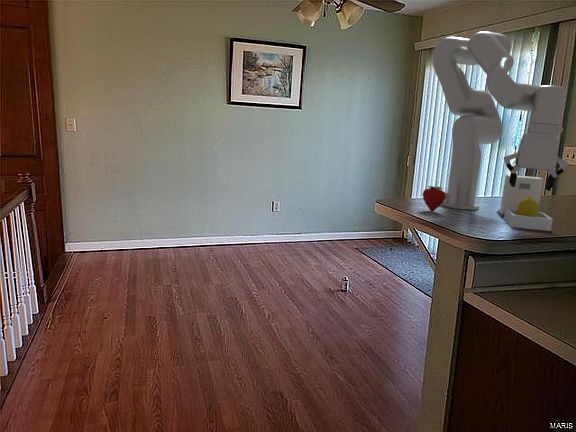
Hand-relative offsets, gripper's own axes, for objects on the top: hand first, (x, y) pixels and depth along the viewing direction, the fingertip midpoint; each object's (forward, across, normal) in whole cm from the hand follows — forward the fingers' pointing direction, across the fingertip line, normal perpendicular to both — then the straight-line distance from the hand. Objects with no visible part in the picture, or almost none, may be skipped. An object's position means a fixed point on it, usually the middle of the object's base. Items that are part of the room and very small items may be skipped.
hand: (529, 188), depth 137 cm
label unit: (+11, -1, -11) cm, 16 cm away
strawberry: (+12, +26, -6) cm, 29 cm away
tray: (+11, -1, +1) cm, 11 cm away
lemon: (+11, -1, +1) cm, 11 cm away
